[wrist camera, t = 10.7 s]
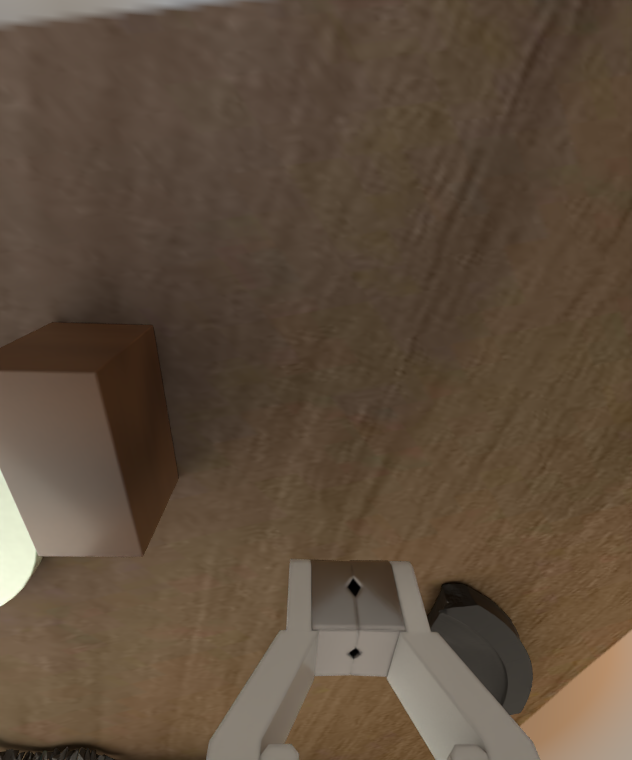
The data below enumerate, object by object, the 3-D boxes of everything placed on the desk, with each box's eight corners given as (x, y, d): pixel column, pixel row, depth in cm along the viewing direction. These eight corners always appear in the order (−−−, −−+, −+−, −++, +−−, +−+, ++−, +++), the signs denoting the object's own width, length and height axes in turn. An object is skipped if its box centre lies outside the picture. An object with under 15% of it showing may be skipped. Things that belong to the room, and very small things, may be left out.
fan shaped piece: (541, 572, 22) (558, 599, 21) (513, 687, 28) (525, 713, 27) (404, 586, 22) (412, 613, 21) (406, 697, 29) (411, 723, 27)
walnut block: (51, 321, 15) (-46, 369, 11) (153, 324, 15) (95, 372, 11) (97, 477, 18) (37, 557, 14) (179, 478, 18) (143, 557, 14)
